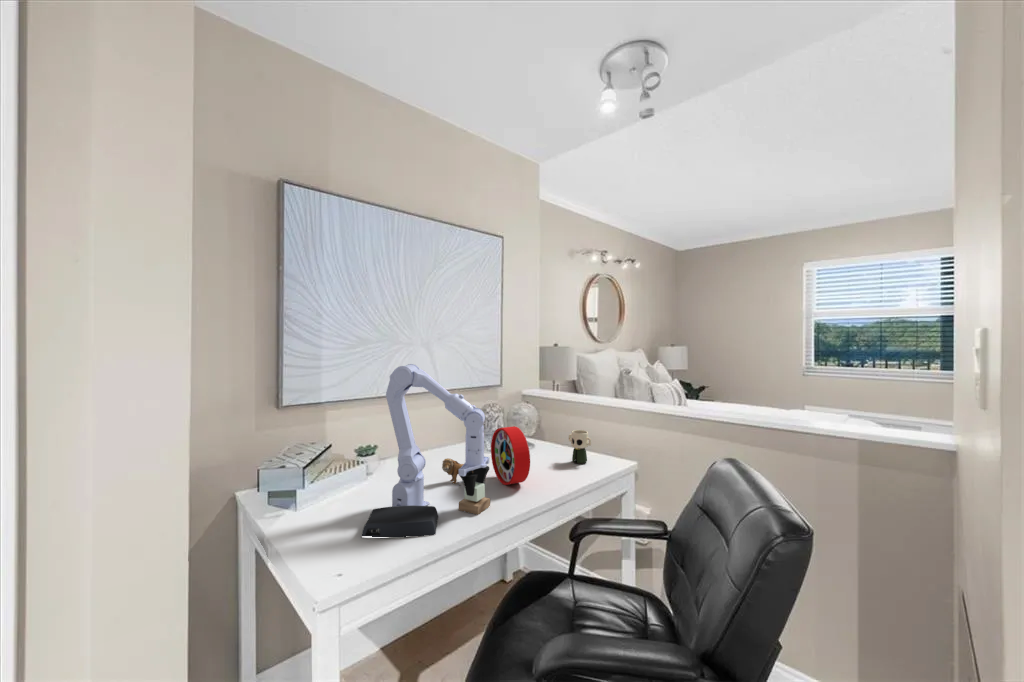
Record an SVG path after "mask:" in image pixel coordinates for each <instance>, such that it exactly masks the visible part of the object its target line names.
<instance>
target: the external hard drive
mask: <svg viewBox="0 0 1024 682" xmlns="http://www.w3.org/2000/svg"><path fill="white" fill-rule="evenodd" d="M438 518H439V513H438V511H437V508H436V506H433V505H427V506H418V505H410V506H409V505H408V506H384V507H377V508H374V509H372V511H371V512H370V514H369V517H368V518H367V521H366V522H365V524H364V527H363V529H362V533H361V536H372V537H404V538H407V537H406V536H418V537H425V536H424V535H429V536H435V535H436V534H437V526H438V521H437V520H439V519H438ZM434 534H435V535H434Z"/></svg>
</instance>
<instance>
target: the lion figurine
mask: <svg viewBox="0 0 1024 682" xmlns="http://www.w3.org/2000/svg"><path fill="white" fill-rule="evenodd" d="M463 465H464V463H459V462H458V461H457V460H453V459H451V458H444V460H442V464H441V469H442V470H443V472H445V473H447V475H448V476H451V479H450V482H452V484H453V483H454V485H456V484H457V478H458V476H459V469H460V468H461V467H462V466H463ZM472 473H473V471H472Z"/></svg>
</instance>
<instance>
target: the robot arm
mask: <svg viewBox="0 0 1024 682" xmlns="http://www.w3.org/2000/svg"><path fill="white" fill-rule="evenodd" d="M414 387H415V388H423V389H425V390H427V392H429V393H431V394H432V395H433V396H435V397H436V398H438V399H439V400H441V401H442V402H443V403H444V406H445V407H444V408H445V409H446V411H448V412H449V413H451V414H452V415H453V416H455V417H456V418H458V420H460V421H461V422H463V425H464V427H465V452H464V453H465V459H464V463H463V464H464V465H463V466H462V467H461V468H460V469H459V474H458V476H459V477H460V478H461V480H462V482H463V485H464V490H465V489H466V493H467V495H469V496H473V495H474V490H475V482H478V483H483V484H485V480H486V478H487V474H488V473H489V470H490V466H489V464H490V457H489V456H485V433H484V432H485V427H484V423H485V421H486V415H485V412H484V411H483V410H482V408H479V407H477V406H476V405H475V404H471V403H470V402H469V401H468V400H466V399H465V395H463V394H462V393H460V394H459V393H452V392H450V391H448V389H446V388H444V386H443V385H442V384H440V383H439V382H438V381H437V380H436V379H434V378H433V377H432V376H431V375H430V374H429V373H428V372H426V371H425V370H424V369H422V368H420V367H419V366H418V365H416V364H414V363H408V364H407V365H400V366H398V367H396V368H395V369H394V370H393V371H392V373H391V374H389V382H388V385H387V388H386V392H385V398H386V402H387V405H388V410H389V413H390V418H391V422H392V427H393V430H394V435H395V438H396V443H397V447H398V454H397V464H398V466H397V475H398V477H399V479H398V482H396V484H394V485H393V487H392V491H391V493H392V494H391V502H392V503H391V505H392V506H408V505H409V506H410V505H418V506H429V505H430V502H429V501H426V500H425V499H424V497H425V494H424V493H425V491H424V488H425V486H424V485H425V484H424V483H425V482H424V479H425V478H424V477H425V475H424V473H423V469H425V467H426V458H425V456H424V455H423V454H422V453H421V449H420V447H419V446H418V445H417V444H416V443H417V442H416V439H415V435H414V431H413V427H412V422H411V420H410V415H409V411H408V407H407V401H406V398H405V395H407V392H408V391H409V390H410V388H414ZM472 471H473V473H472ZM392 506H391V507H392Z"/></svg>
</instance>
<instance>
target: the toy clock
mask: <svg viewBox="0 0 1024 682" xmlns="http://www.w3.org/2000/svg"><path fill="white" fill-rule="evenodd" d="M490 454H491V455H490V457H491V463H492V468H493V470H494V473H495V475H496V477H497V479H498V481H499V482H500V483H501V484H502V485H504V486H510V485H515V484H520V483H524V482H525V481H526V480H527V479H528V476H529V473H530V469H531V453H530V447H529V443H528V440H527V438H526V436H525V433H524V432H523V431H522V429H521V428H520V427H519V426H514V425H513V426H506V427H505V426H504V427H498V428H496V430H495V431H494V432H493V435H492V437H491V444H490Z"/></svg>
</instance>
